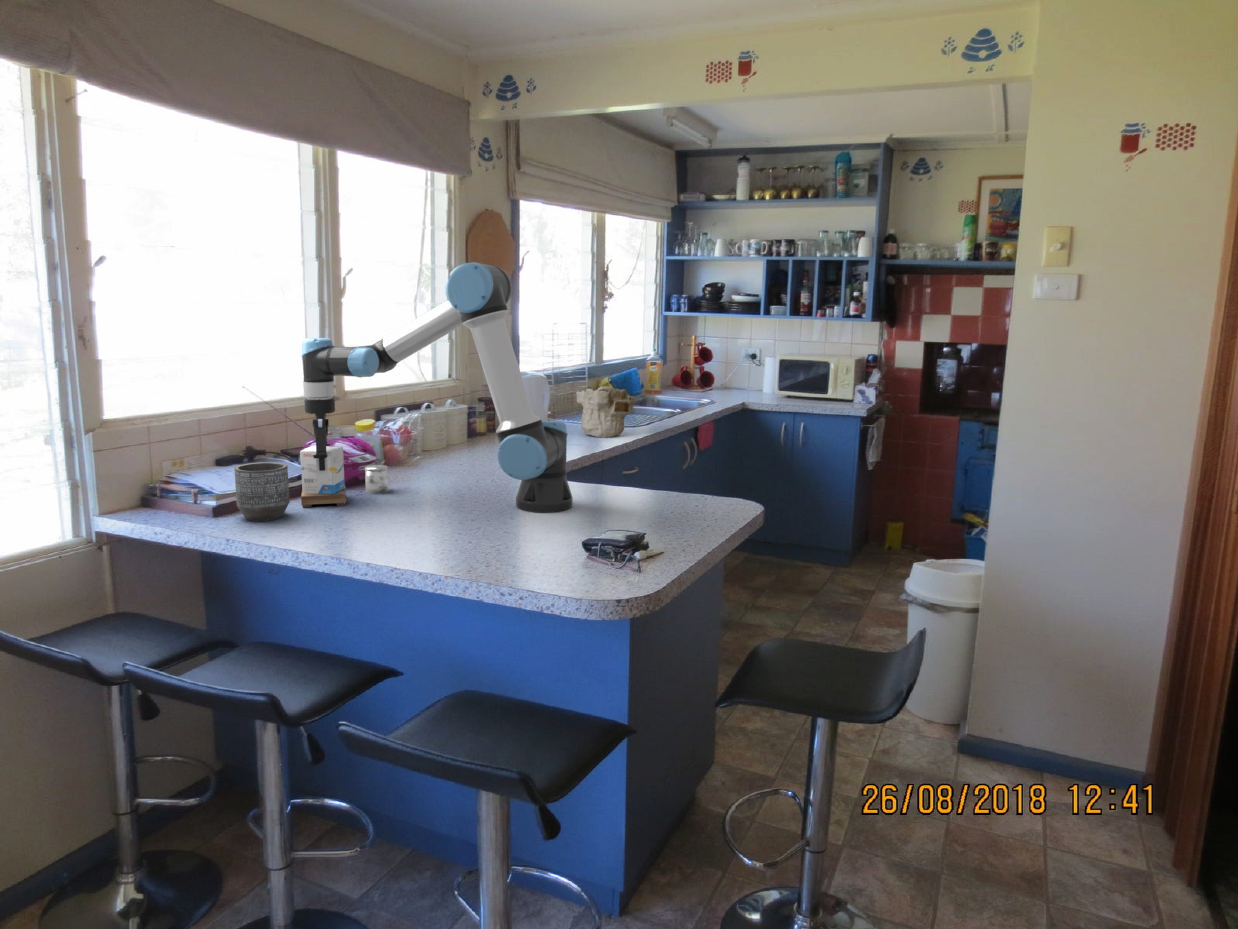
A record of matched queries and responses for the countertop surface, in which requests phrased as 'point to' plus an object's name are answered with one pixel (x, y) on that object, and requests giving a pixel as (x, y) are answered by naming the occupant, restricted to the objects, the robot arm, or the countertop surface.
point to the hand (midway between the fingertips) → (323, 477)
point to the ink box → (334, 471)
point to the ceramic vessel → (604, 410)
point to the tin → (376, 479)
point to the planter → (262, 490)
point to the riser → (324, 498)
